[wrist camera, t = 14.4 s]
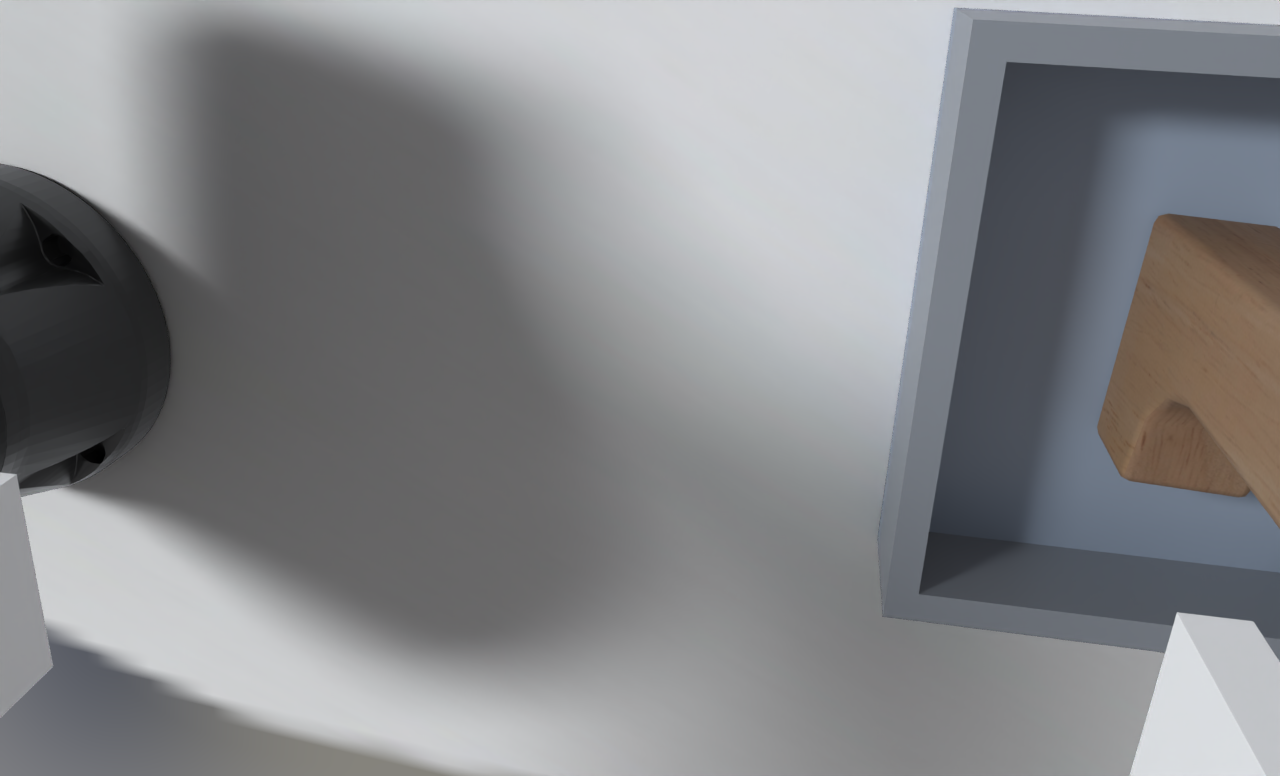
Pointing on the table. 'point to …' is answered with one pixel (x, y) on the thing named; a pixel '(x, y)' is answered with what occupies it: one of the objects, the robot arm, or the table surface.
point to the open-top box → (1068, 328)
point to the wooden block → (1201, 363)
